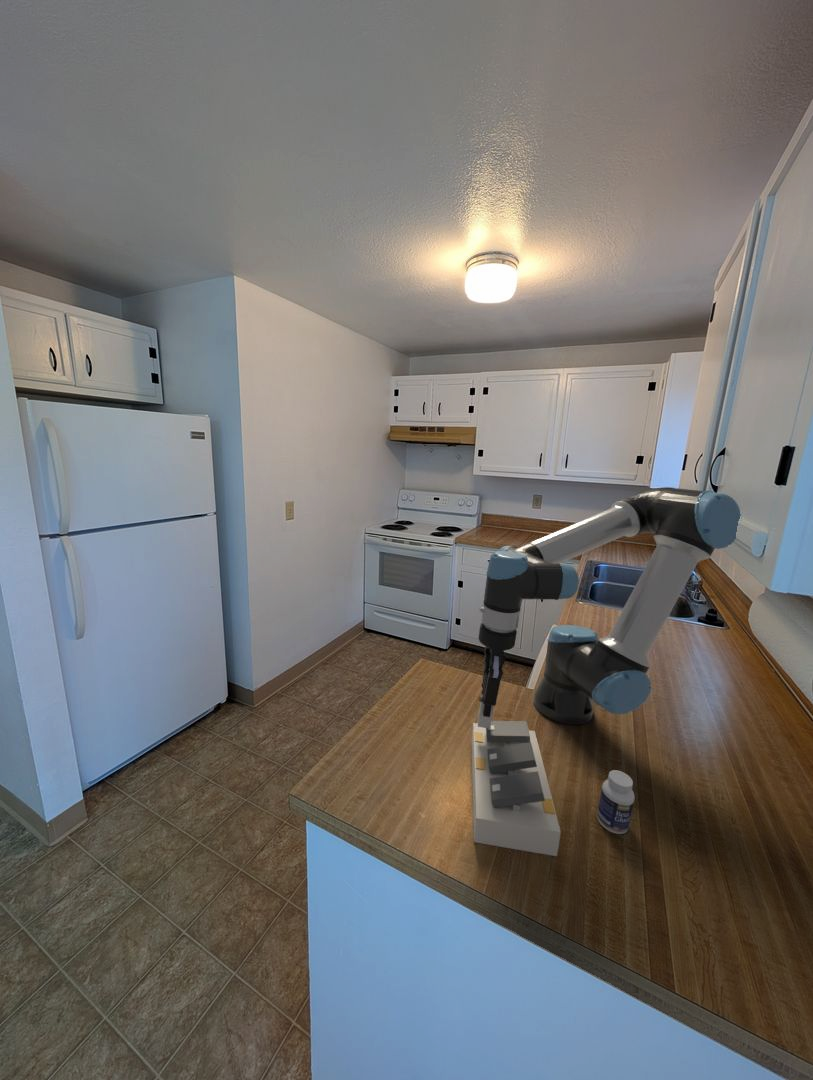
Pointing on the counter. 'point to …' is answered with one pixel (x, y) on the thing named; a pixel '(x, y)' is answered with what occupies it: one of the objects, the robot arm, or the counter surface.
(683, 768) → the counter surface
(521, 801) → the block
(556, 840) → the switch unit
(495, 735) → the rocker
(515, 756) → the block
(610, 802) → the pill bottle
